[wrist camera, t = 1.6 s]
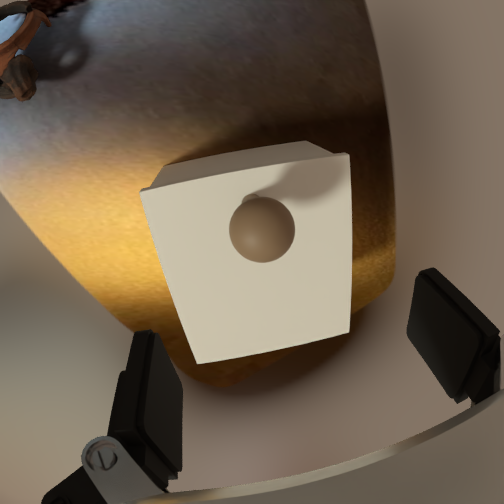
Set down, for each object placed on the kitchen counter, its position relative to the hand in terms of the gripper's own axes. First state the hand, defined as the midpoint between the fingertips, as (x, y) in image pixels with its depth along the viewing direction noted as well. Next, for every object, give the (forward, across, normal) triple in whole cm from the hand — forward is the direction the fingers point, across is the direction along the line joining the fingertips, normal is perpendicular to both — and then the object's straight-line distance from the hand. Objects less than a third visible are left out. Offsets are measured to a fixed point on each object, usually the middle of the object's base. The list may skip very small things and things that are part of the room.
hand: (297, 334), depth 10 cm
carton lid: (+13, 0, +5) cm, 14 cm away
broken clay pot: (+22, +20, -19) cm, 35 cm away
